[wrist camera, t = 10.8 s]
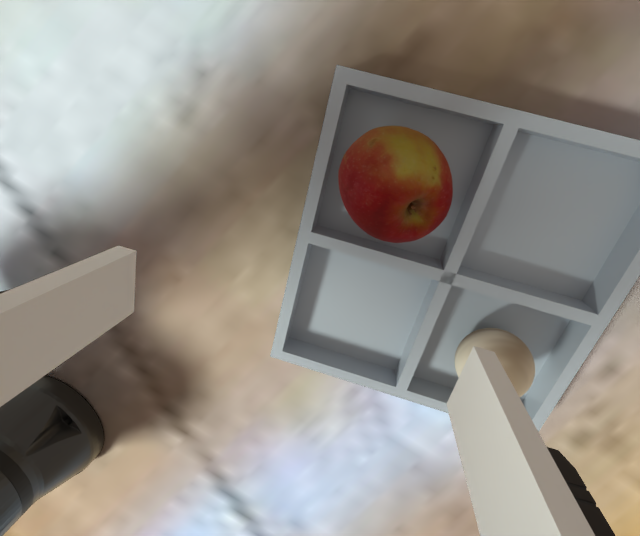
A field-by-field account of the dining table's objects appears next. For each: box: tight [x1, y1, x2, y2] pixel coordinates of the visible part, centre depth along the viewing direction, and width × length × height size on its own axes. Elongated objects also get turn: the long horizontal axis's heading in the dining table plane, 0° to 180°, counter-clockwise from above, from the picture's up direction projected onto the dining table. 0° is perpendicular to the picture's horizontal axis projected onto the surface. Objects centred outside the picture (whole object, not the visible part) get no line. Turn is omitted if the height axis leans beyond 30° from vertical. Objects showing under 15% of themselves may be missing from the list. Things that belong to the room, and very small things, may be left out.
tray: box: [270, 65, 640, 432], centre depth 30 cm, size 25×25×4 cm
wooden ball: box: [455, 328, 535, 397], centre depth 29 cm, size 6×6×6 cm
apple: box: [338, 126, 453, 243], centre depth 25 cm, size 8×8×8 cm
